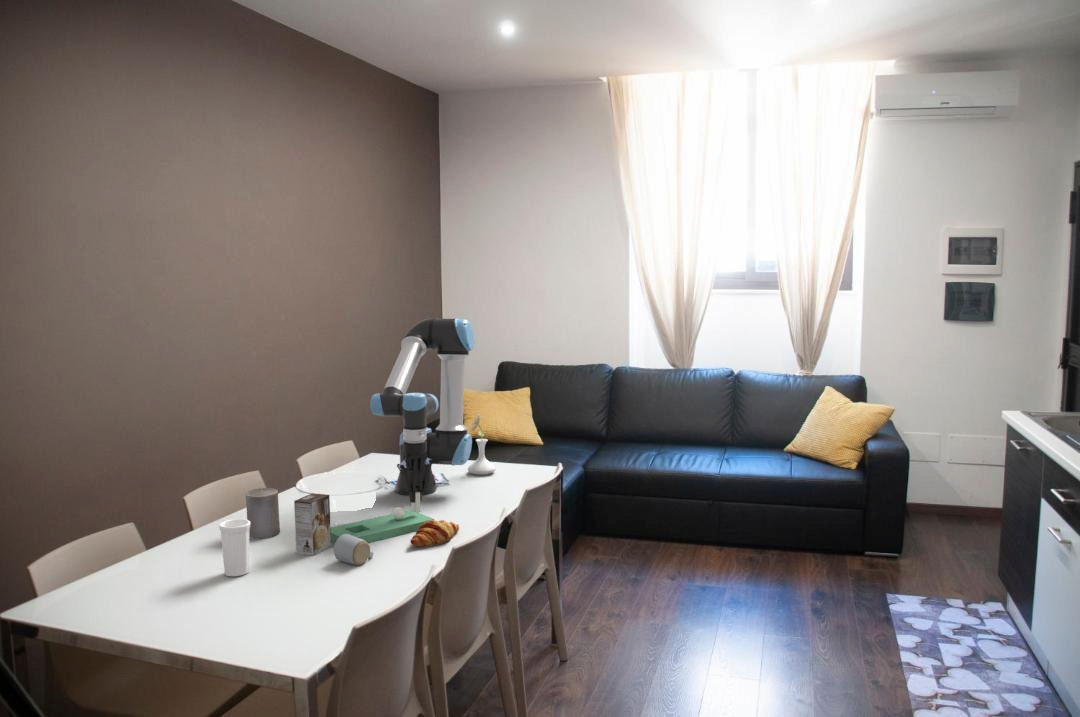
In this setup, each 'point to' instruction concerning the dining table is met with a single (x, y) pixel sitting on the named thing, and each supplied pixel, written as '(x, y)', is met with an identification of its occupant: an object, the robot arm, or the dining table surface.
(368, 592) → the dining table surface
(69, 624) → the dining table surface
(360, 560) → the ceramic mug
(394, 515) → the ball
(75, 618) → the dining table surface
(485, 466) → the flower in vase
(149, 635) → the dining table surface
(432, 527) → the croissant
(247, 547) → the cup
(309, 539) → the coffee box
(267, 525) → the pillar candle
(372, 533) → the green slotted board
